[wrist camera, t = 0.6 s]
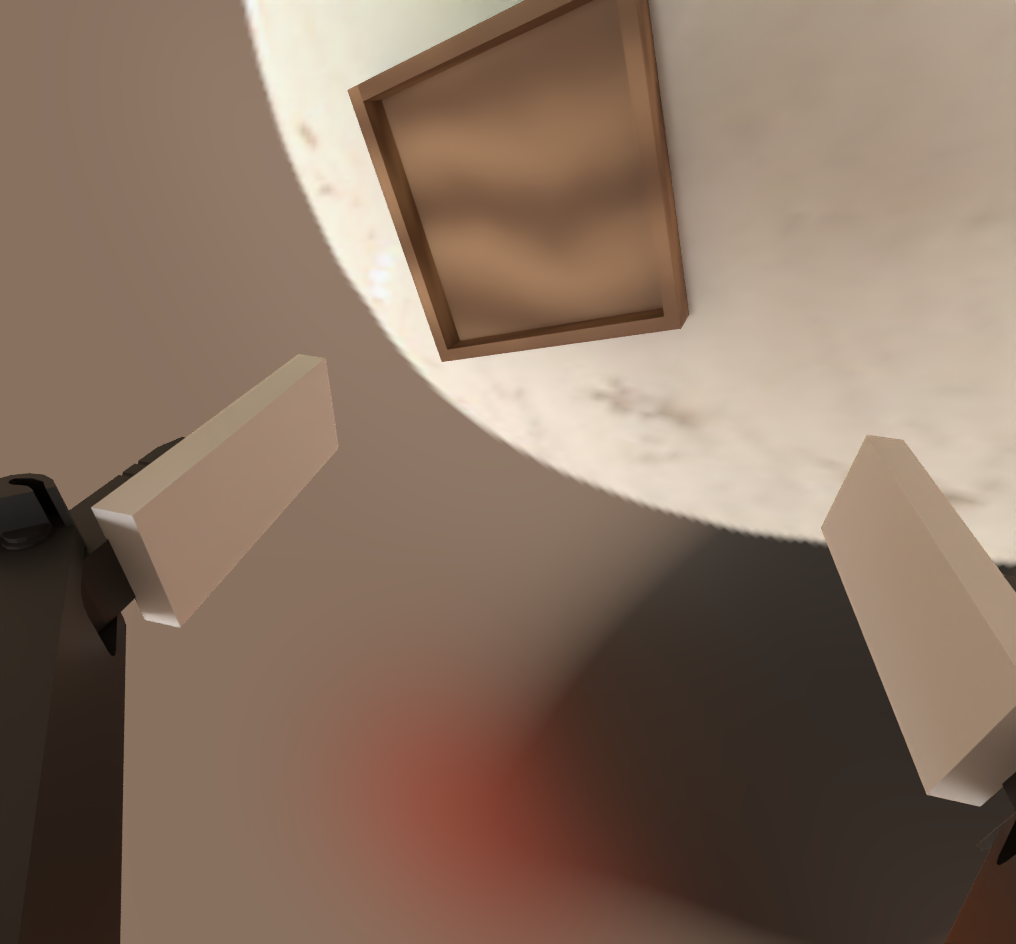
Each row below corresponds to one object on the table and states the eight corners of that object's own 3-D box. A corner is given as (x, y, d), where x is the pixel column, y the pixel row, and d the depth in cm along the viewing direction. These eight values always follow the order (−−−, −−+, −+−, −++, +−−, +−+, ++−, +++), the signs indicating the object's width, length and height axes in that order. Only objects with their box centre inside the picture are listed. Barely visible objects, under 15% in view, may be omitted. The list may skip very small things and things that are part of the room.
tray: (372, 89, 34) (347, 90, 32) (642, -43, 25) (628, -52, 23) (458, 349, 41) (441, 361, 39) (688, 314, 33) (680, 328, 31)
